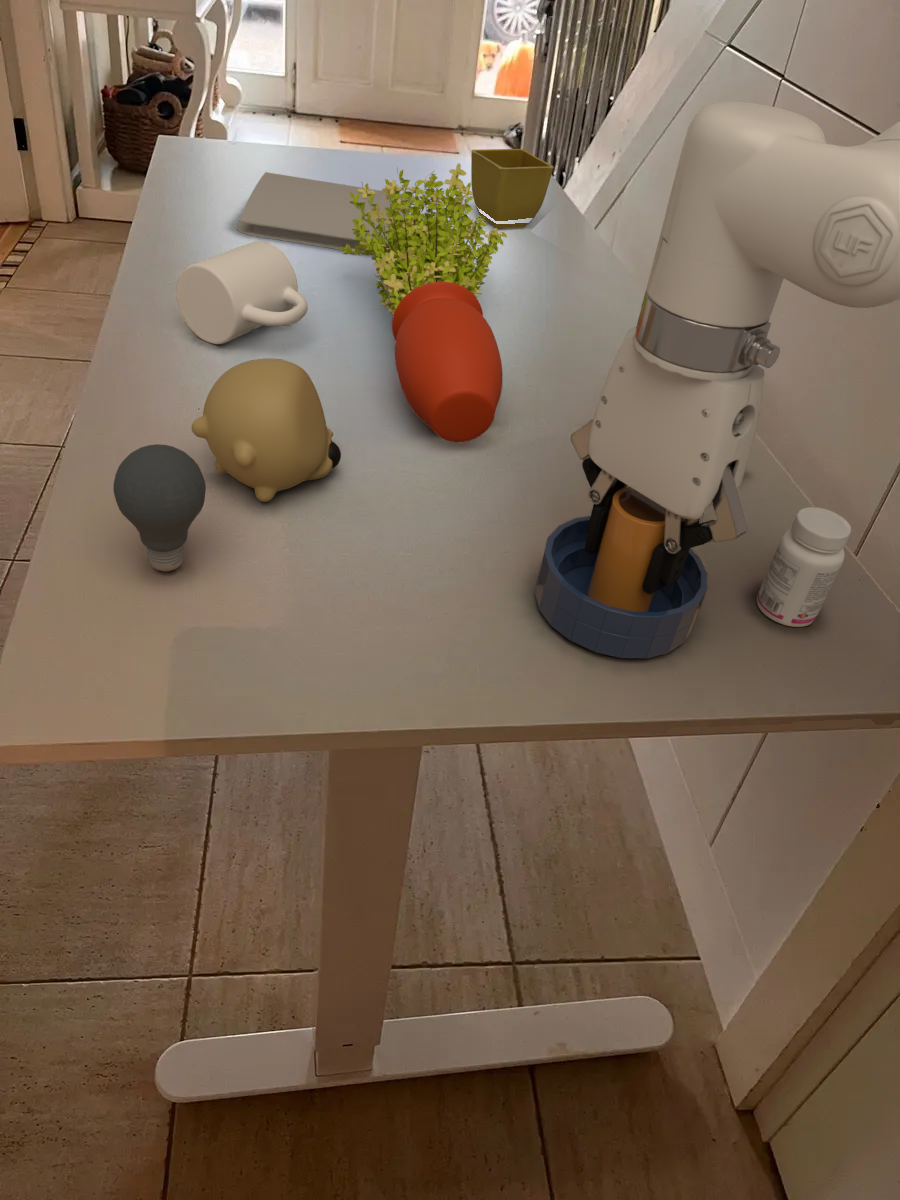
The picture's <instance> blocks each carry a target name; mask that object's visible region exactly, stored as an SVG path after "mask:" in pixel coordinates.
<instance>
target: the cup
mask: <svg viewBox="0 0 900 1200" xmlns="http://www.w3.org/2000/svg"><path fill="white" fill-rule="evenodd" d="M665 510H666V509H665V508H664V507H662V506H660V505H659V504H657V503H656V502H654V501H652V500H651V499H649V498H647V497H646V496H644V495H643V494H641V493H639V492H638V491H636V490H634V489H633V488H631V487H630V486H627V487H626V488H623V489H620V490H618V491H617V492H616V493H615V494H614V496H613V499H612V503H611V506H610V510H609V514H608V517H607V521H606V525H605V529H604V532H603V536H602V540H601V543H600V547H599V551H598V554H597V558H596V562H595V565H594V569H593V573H592V576H591V580H590V584H589V587H588V591H587V595H586V596H588V597H590V598H592V599H594V600H597V601H599V602H601V603H603V604H606V605H608V606H612V607H616V608H620V609H625V610H629V611H633V612H649V609H650V606H651V603H652V600H653V597H654V594H655V592H654V593H652V594H650V595H649V594H648V593H646V592H645V591H643V588H642V586H643V582H644V579H645V576H646V573H647V570H648V567H649V563H650V560H651V557H652V554H653V551H654V548H655V547H656V546H657V545H659V544H661V543H663V542H664V532H665Z"/></svg>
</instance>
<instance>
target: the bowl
mask: <svg viewBox="0 0 900 1200" xmlns="http://www.w3.org/2000/svg"><path fill="white" fill-rule="evenodd" d="M590 516H591V515H585V516H580V517H574V518H572V519H570V520H567V521H566V522H563V523H562V524H559V525H558V526H556V528H555V529H554V530H553V531H552V532H551V533H550V534H549V535H548V536H547V539H546V543H545V547H544V550H543V555H542V559H541V563H540V568H539V573H538V577H537V580H536V581H537V582H536V586H535V589H534V595H535V599H536V602H537V607H538V610H539V612H540V613H541V614H542V616H543V617H544V618H545V620H546V621H547V622H548V624H549V625H550V626H551V627H552V628H553V629H555V631H557V632H558V633H559V634H561V635H562V636H563V637H565V638H566V639H568V640H569V641H571V642H572V643H574V644H577V645H579V646H581V647H583V648H586V649H588V650H590V651H592V652H594V653H597V654H601V655H606V656H611V657H614V658H619V659H649V658H654V657H658V656H663V655H667V654H668V653H670V652H672V651H674V650H676V649H677V648H678V647H680V646H681V645H683V644H684V643H685V642H686V640H687V639H688V637H689V635H690V634H691V632H692V630H693V628H694V625H695V623H696V620H697V617H698V614H699V612H700V610H701V607H702V605H703V602H704V599H705V597H706V594H707V591H708V589H709V588H708V587H709V585H708V572H707V569H706V568H705V565H704V564H703V562H702V560H701V558H700V556H699V555H698V554H697V553H696V552H695V551H694V550H693V549H692V548H690V550H689V553H688V556H687V558H686V561H685V564H684V567H683V570H682V573H681V575H680V577H679V579H678V580H677V581H676V582H675V583H674V584H672V585H671V586H667V585H666V586H664V587H663V588H661V589H659V590H657V591H656V592H655V594H654V597H653V600H652V603H651V606H650V609H649V612H633V611H629V610H625V609H620V608H616V607H612V606H608V605H606V604H603V603H601V602H599V601H597V600H594V599H592V598H590V597H588V596H586V595H587V591H588V587H589V584H590V580H591V576H592V573H593V569H594V565H595V562H596V558H597V554H598V552H597V553H595V554H593V553H592V554H589V553H588V552H586V551H585V550H584V547H585V544H586V540H587V536H588V532H587V528H588V524H589V520H590Z"/></svg>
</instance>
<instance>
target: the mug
mask: <svg viewBox="0 0 900 1200" xmlns="http://www.w3.org/2000/svg"><path fill="white" fill-rule="evenodd" d="M183 268H184V269H182V270H181V272H180V273H179V275H178V277H177V281H176V287H175V294H176V295H175V296H176V301H177V305H178V309H179V312H180V314H181V317H182V318H183V320H184V321H185V323H186V324H187V326H188V328H189V329H190V330H191V331H192V332H193V333H194V334H195V335H196V336H197V337H199V339H202V340H203V341H205V342H207V343H209V344H214V345H222V344H226V343H229V342H230V341H232V340H234V339H236V338H239V337H241V336H243V335H245V334H247V333H249V332H251V331H254V330H256V329H258V328H260V327H262V326H265V327H267V326H268V327H286V326H291V325H293V324H296V323H298V322H299V321H301V320H303V318H304V317H305V316H306V315H307V312H308V309H309V308H308V307H309V306H308V301H307V299H306V298H305V297H304V296H303V295H302V293H300V292H299V288H298V287H299V286H298V278H297V275H296V272H295V270H294V267H293V265H292V263H291V261H290V260H289V258H288V257H287V256H286V254H285V253H284V252H283V251H282V250H281V249H280V248H279V247H277V246H276V245H274V244H272V243H270V242H267V241H263V240H256V241H252V242H249V243H246V244H244V245H241V246H239V247H236V248H233V249H230V250H228V251H225V252H222V253H219V254H216V255H214V256H211V257H208V258H206V259H205V258H204V259H202V260H200V261H197V262H194V263H192V264H191V263H190V264H189V265H187V266H186V267H183Z"/></svg>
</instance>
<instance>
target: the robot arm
mask: <svg viewBox="0 0 900 1200" xmlns="http://www.w3.org/2000/svg"><path fill="white" fill-rule="evenodd" d="M677 163H678V164H677V167H676V170H675V171H676V172H675V175H674V179H673V183H672V186H671V191H670V194H669V198H668V203H667V206H666V210H665V211H666V212H665V214H664V218H663V221H662V222H663V223H662V226H661V230H660V235H659V237H658V242H657V245H656V250H655V254H654V257H653V261H652V265H651V269H650V273H649V277H648V281H647V285H646V288H645V292H644V296H643V300H642V304H641V307H640V311H639V315H638V319H637V324H636V326H634V327H632V328H631V329H629V330H628V332H627V334H625V337H624V339H623V340H622V343H621V345H620V347H619V349H618V350H617V353H616V355H615V357H614V359H613V361H612V364H611V366H610V368H609V370H608V373H607V376H606V378H605V381H604V384H603V387H602V390H601V392H600V396H599V399H598V402H597V405H596V407H595V412H594V416H593V418H591V420H589V421H588V422H586V423H585V424H584V425H582V426H581V427H579V428H578V429H576V430H575V431H573V432H572V433H571V434H570V442H571V445H572V446H573V448H574V450H575V452H576V454H577V457H578V458H579V460H581V461H582V463H581V467H582V470H583V473H584V475H585V477H586V480H587V482H588V485H589V487H590V489H589V490H588V496H587V497H588V499H589V501H590V503H591V504H593V505H592V509H591V512H590V515H589V516H590V520H589V524H588V528H587V532H588V536H587V540H586V544H585V547H584V550H585V551H586V552H588V553H589V554H592V553H593V554H595V553H597V552H598V551H599V547H600V543H601V540H602V536H603V532H604V529H605V525H606V521H607V517H608V514H609V510H610V506H611V503H612V499H613V496H614V494H615V493H616V492H617V491H618V490H620V489H623V488H626V487H631V488H633V489H634V490H636V491H638V492H639V493H641V494H643V495H644V496H646V497H647V498H649V499H651V500H652V501H654V502H656V503H657V504H659V505H660V506H662V507H664V508H665V509H666V510H665V532H664V542H663V543H661V544H659V545H657V546H656V547H655V548H654V551H653V554H652V557H651V560H650V563H649V567H648V570H647V573H646V576H645V579H644V582H643V586H642V588H643V591H645V592H646V593H648V594H649V595H650V594H652V593H654V592H656V591H657V590H659V589H661V588H663V587H664V586H666V585H667V586H671V585H672V584H674V583H675V582H676V581H677V580H678V579H679V577H680V575H681V573H682V570H683V567H684V564H685V561H686V558H687V556H688V553H689V550H690V548H691V549H692V548H693V549H694V548H695V547H699V546H703V545H705V544H707V543H721V542H730V541H734V540H737V539H738V538H740V537H741V536H744V535H745V534H746V533H747V532H748V524H747V520H746V517H745V514H744V510H743V506H742V503H741V499H740V495H739V491H740V488H741V485H742V483H743V480H744V476H745V473H746V470H747V467H748V463H749V460H750V456H751V453H752V449H753V445H754V440H755V437H756V432H757V428H758V424H759V419H760V414H761V408H762V401H763V393H764V386H765V385H764V384H765V370H764V369H763V368H762V367H764V368H766V369H769V368H772V367H773V365H775V363H776V362H777V360H778V359H779V356H780V352H781V348H780V347H779V346H778V345H776V344H773V343H772V342H771V339H769V338H768V334H769V332H770V328H771V326H772V323H771V322H770V319H771V316H772V313H773V310H774V308H775V304H776V301H777V299H778V297H779V293H780V291H781V288H782V284H783V282H784V280H786V281H788V282H790V283H791V284H794V285H795V286H796V287H799V288H801V289H803V290H804V291H806V292H808V293H809V294H812V295H814V296H816V297H818V298H820V299H822V300H824V301H828V302H830V303H833V304H836V305H839V306H844V307H848V308H856V309H858V308H859V309H870V308H877V307H881V306H885V305H889V304H892V303H894V302H896V301H899V300H900V120H899V121H897V122H896V123H894V124H893V125H891V126H890V127H888V128H887V129H886V130H884V131H882V132H880V134H878V135H877V136H875V137H873V138H871V139H869V140H868V141H866V142H864V143H863V144H862V143H861V144H858V145H849V146H843V145H838V144H837V145H836V144H831V143H827V139H826V136H825V133H824V131H823V130H822V128H821V127H820V125H818V124H817V123H816V122H814V121H813V120H811V118H808V117H806V116H804V115H803V114H800V113H797V112H794V111H792V110H788V109H785V108H781V107H777V106H773V105H767V104H762V103H755V102H748V101H739V100H738V101H737V100H736V101H735V100H727V101H719V102H713V103H711V104H708V105H706V106H705V107H703V108H701V109H700V110H699V111H698V112H697V113H696V114H695V115H694V117H693V118H692V119H691V121H690V123H689V126H688V128H687V130H686V134H685V137H684V141H683V144H682V147H681V151H680V154H679V158H678V162H677ZM759 365H760V366H762V367H760V366H759ZM711 503H712V507H713V509H714V513H715V516H716V517H715V518H716V520H715V519H710V520H707V521H706V520H705V521H704V516H705V511H706V508H707V507H709V506H710V505H711Z"/></svg>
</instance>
